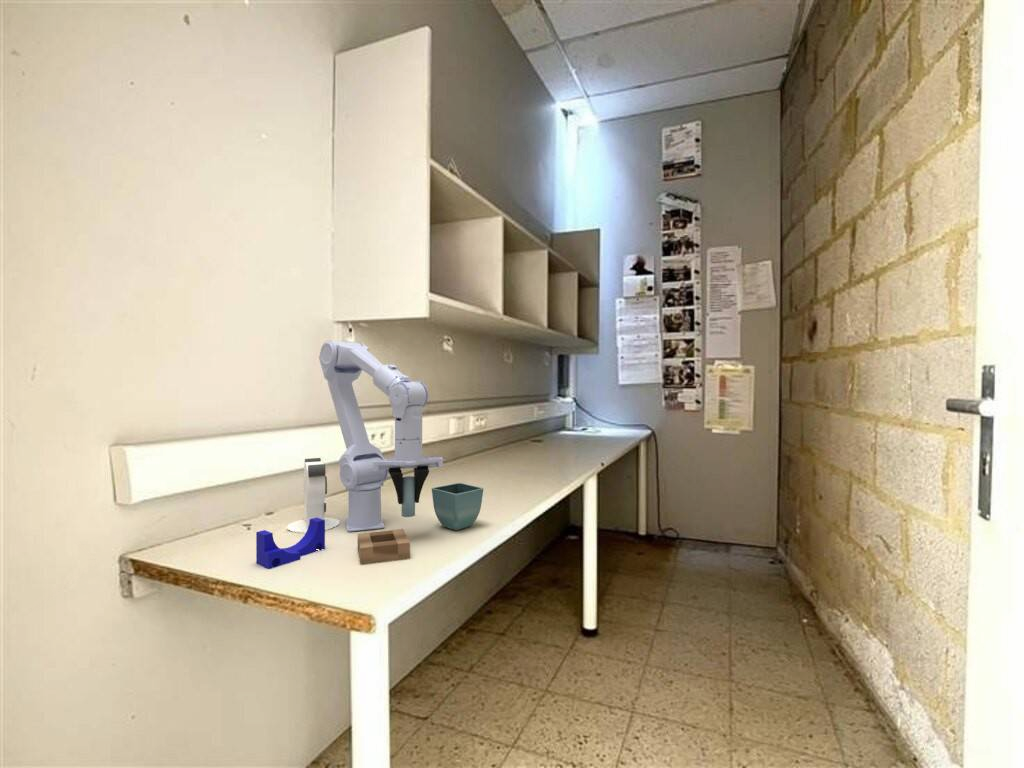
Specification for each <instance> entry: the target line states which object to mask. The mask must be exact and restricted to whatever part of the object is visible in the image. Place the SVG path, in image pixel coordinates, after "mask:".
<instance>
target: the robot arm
mask: <svg viewBox="0 0 1024 768" xmlns="http://www.w3.org/2000/svg"><path fill="white" fill-rule="evenodd" d="M318 359H319V363H320V367H321V370H322V373H323V377H324V380H326V381H327V385H328V389H329V392H330V395H331V399H332V402H333V406H334V410H335V413H336V417H337V421H338V423H339V426H340V427H339V429H340V431H341V434H342V438H343V442H344V444H345V447H346V450H345V451H344V452H343V454H342V455H341V456H340V458H339V460H338V464H339V478H340V481H341V483H342V485H343V486H344V487H345V489H346V490H348V492H347V493H348V496H347V497H348V498H347V499H348V502H347V503H348V517H347V518H346V519H345V524H346V531H347V532H356V531H368V530H377V529H384V528H385V525H384V521H383V519H382V487H384V483H385V481H386V480H387V479H388V477H389V475H390V478H391V480H392V483H393V486H394V488H395V493H396V497H397V503H398V505H402V504H403V497H402V479H403V477H404V476H403V473H402V471H403V470H405V469H413V474H414V475H413V477H415V504H417V503H420V497H421V493H422V490H423V486H424V484H425V481H426V479H427V477H428V475H429V474H430V469H429V468H444V458H443V457H442V456H423V408H424V407H425V406H427V403H428V402H429V390H428V388H427V386H426V385H425V384H424V382H423V381H419V380H417V381H413V380H412V379H411V378H410V377H409V375H405V374H403V373H402V372H401V371H400V370H398V366H396V364H383V363H382V362H380V360H378V359H377V358H376V357H375V356H374V355H373V354H372V353H371V352H370V348H369V347H368V346H366V345H365V343H363V342H346V341H333V340H331V339H330V340H326V341H325V342H324V343H322V346H321V348H320V352H319V356H318ZM362 372H364V373H366V374H367V375H369V376H370V377H372V382H373V384H374V386H375V387H376V388H377V389H379V390H380V391H381V392H382V393H383V394H385V395H386V396H387V397H388V401H389V404H390V406H391V409H392V410H391V411H392V415H393V418H394V457H393V458H386V459H385V457H384V456H383V454H382V449H380V448H378V447H377V446H375V445H374V444H372V443H370V439H369V436H368V432H367V430H366V426H365V423H364V420H363V417H362V414H361V410H360V407H359V403H358V400H357V396H356V393H355V389H354V387H353V382H354V381H356V380H358V379H359V377H360V376H361V373H362ZM402 469H403V470H402Z"/></svg>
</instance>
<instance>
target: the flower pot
mask: <svg viewBox="0 0 1024 768" xmlns="http://www.w3.org/2000/svg"><path fill="white" fill-rule="evenodd" d="M484 488H485V487H480V486H476V485H473V484H468V483H464V482H463V483H462V482H455V483H451V484H446V485H442V486H436V487H432V488H431V496H432V504H433V509H434V513H435V515H436V518H437V520H438V522H439V524H440V525H441V527H445V528H447V529H450V530H454V531H459V530H462V529H466V528H470V527H472V526H473V525H474V523H475V522H476V520H477V519H478V518H479V517H478V516H479V514H480V512H481V509H482V504H483V503H482V502H483V496H484Z"/></svg>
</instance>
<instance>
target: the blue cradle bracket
mask: <svg viewBox="0 0 1024 768" xmlns="http://www.w3.org/2000/svg"><path fill="white" fill-rule="evenodd" d="M273 535H274V533H273V532H270V531H268V530H265V529H262V530H260V531H256V534H255V536H256V537H255V539H256V540H255V542H256V544H255V545H256V548H255V550H256V552H255V553H256V564H257V565H259V566H260V567H263V568H265V569H267V570H270V569H271V570H272V569H274V568H277V567H280V566H284V565H288V564H290V563H294V562H297V561H301V557H303V556H306V555H310V554H313V552H314V553H316V551H317V552H319V551H318V550H316V549H319V550H320V551H323V550H322V549H324V550H325V549H326V531H325V520H323V519H320V518H313V519H310V522H309V527H308V530H307V532H306V533H304V535H303V537H302V538H301V539H300V540H299V541H297V542H296V543H295V544H294V545H291V546H289V547H283V548H281V547H279V546H278V545H277V544H276V542H275V540H274V536H273Z"/></svg>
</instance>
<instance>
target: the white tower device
mask: <svg viewBox="0 0 1024 768" xmlns="http://www.w3.org/2000/svg"><path fill="white" fill-rule="evenodd" d="M321 459H322V458H321V457H313V458H305V459H304V465H303V467H304V468H303V493H304V505H303V506H304V510H303V511H304V513H303V515H304V519H299V520H295V521H293V522H290V523H289V524H288V525H287V526H286V530H287V529H288V530H290V531H293V532H303V533H302V534H305V533H304V532H307V530H308V527H309V522H310V519H313V518H320V519H323V520H325V530H327V529H331V528H333V527H336V526H337V525H339V526H340V525H341V524H340V523H341V521H340V519H337V518H334V517H326V516H325V513H326V512H327V502H325V501H326V495H327V494H328V480H327V479H328V478H327V475H326V464H325V463H324V462H323V461H322V460H321ZM337 527H338V526H337ZM337 527H336V528H337ZM333 529H334V528H333ZM288 530H287V531H288ZM331 530H332V529H331ZM290 531H289V532H290ZM327 531H328V530H327ZM293 532H292V533H293Z"/></svg>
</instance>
